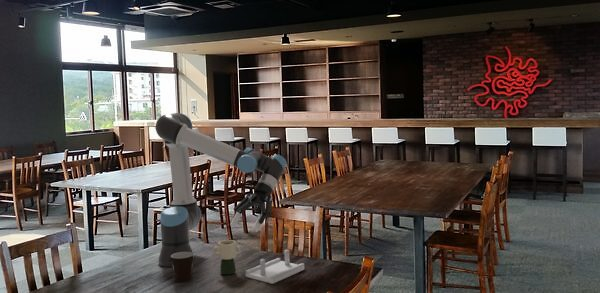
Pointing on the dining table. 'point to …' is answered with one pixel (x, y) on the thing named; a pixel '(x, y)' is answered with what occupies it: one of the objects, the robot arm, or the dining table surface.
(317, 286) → the dining table surface
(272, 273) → the tray
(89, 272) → the dining table surface
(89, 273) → the dining table surface
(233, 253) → the character mug
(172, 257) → the coffee mug
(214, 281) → the dining table surface
